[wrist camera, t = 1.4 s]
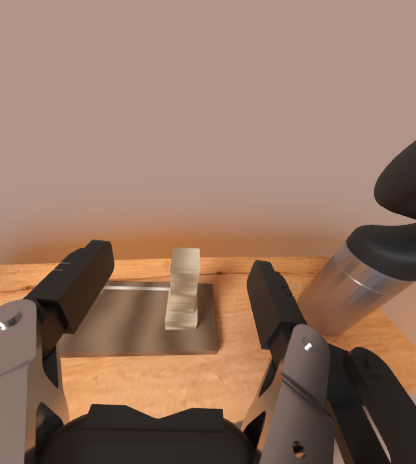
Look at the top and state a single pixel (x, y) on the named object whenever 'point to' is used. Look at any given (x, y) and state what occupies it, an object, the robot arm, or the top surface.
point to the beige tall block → (183, 289)
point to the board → (140, 324)
